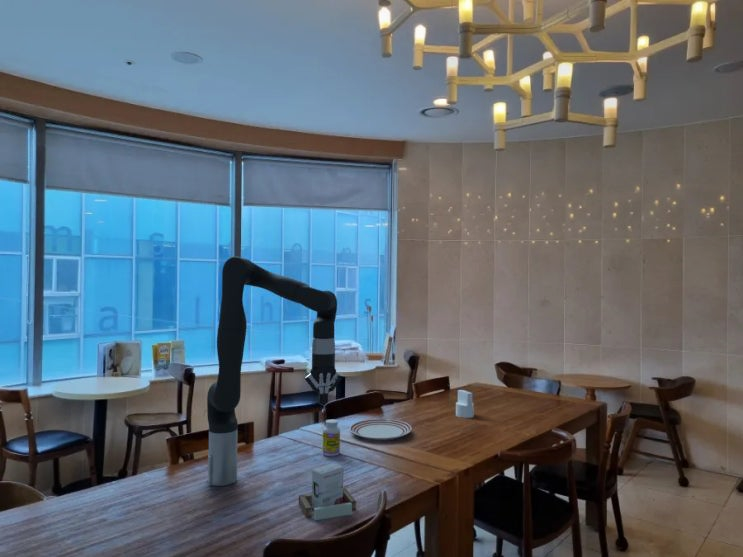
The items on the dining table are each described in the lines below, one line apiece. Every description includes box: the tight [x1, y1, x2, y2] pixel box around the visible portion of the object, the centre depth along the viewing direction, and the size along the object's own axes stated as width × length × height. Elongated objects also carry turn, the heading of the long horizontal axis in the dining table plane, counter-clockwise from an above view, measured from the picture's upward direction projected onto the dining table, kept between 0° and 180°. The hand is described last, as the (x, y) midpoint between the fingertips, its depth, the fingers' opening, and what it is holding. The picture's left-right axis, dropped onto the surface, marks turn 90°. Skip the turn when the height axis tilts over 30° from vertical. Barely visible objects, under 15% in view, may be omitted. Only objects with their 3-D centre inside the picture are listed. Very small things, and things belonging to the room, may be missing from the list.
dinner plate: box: [349, 418, 412, 441], centre depth 228 cm, size 28×27×3 cm
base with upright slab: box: [455, 389, 475, 419], centre depth 260 cm, size 9×9×12 cm
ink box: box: [311, 462, 344, 510], centre depth 154 cm, size 9×5×12 cm, turn 133°
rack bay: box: [298, 488, 357, 518], centre depth 156 cm, size 15×12×8 cm
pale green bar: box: [313, 502, 353, 521], centre depth 148 cm, size 11×1×3 cm, turn 111°
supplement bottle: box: [322, 418, 341, 457], centre depth 201 cm, size 7×7×13 cm
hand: (323, 404), depth 169 cm, fingers closed
